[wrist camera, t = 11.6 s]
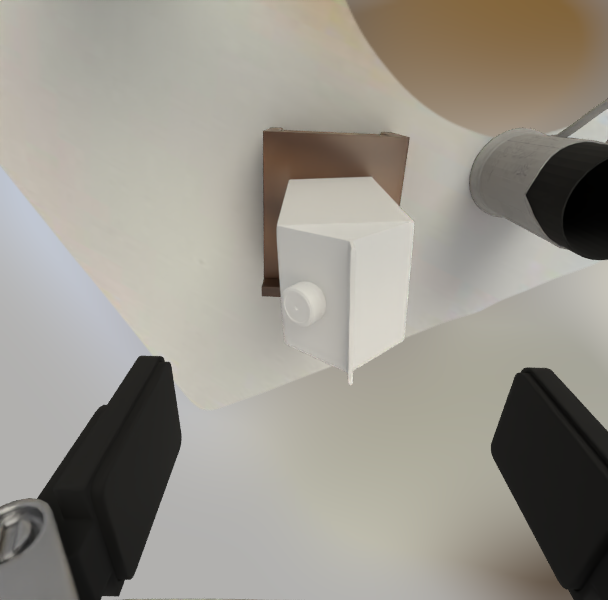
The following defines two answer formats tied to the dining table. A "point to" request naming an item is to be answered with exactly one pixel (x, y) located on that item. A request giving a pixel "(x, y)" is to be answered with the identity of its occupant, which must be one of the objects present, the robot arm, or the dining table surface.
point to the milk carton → (343, 269)
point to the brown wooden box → (322, 173)
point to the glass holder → (548, 185)
